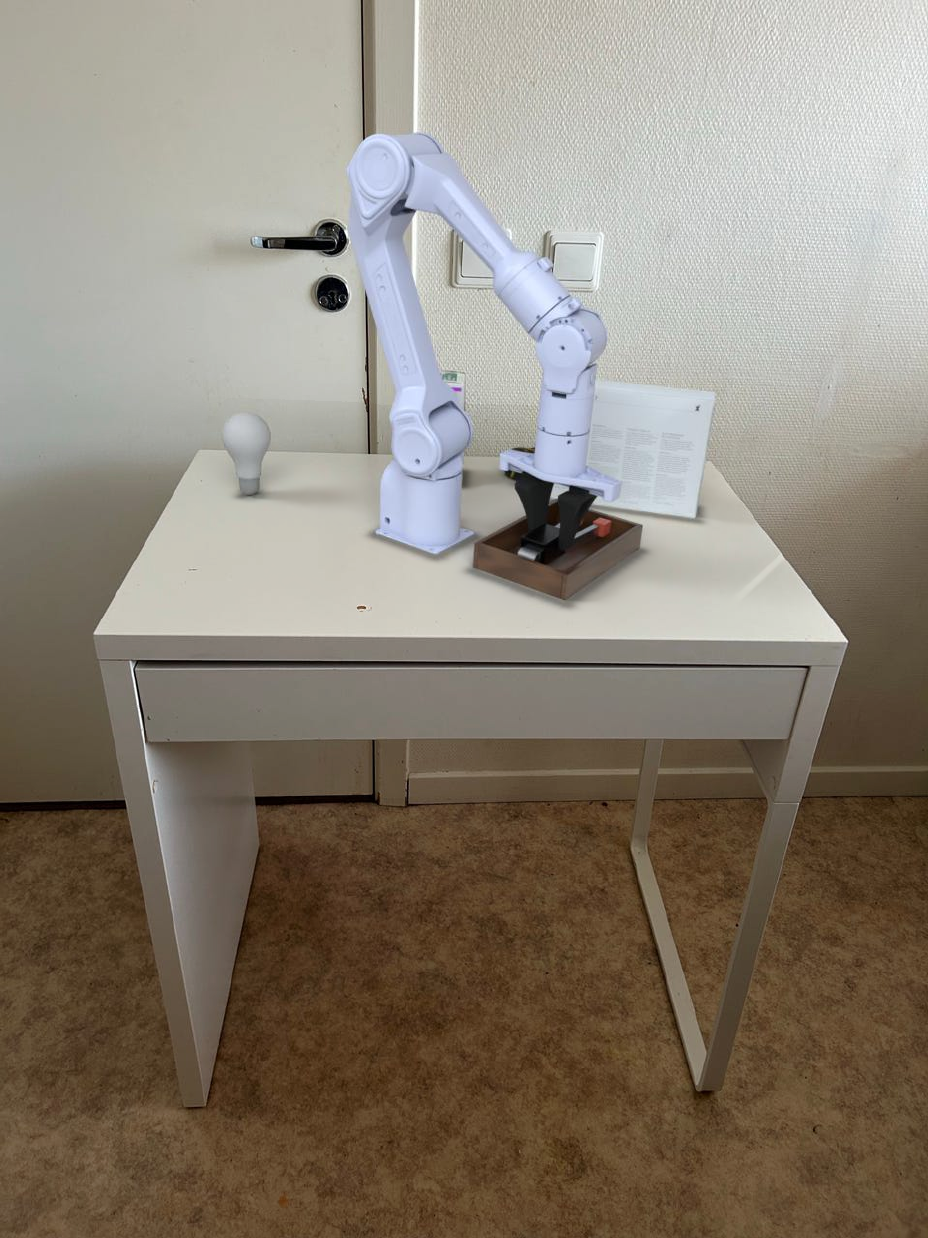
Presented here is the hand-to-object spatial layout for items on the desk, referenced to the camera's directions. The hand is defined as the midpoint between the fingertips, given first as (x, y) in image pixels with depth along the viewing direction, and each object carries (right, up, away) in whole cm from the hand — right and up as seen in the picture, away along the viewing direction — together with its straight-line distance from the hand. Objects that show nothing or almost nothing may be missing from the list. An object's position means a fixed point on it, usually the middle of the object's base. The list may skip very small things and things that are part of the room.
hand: (551, 542), depth 109 cm
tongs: (+1, 0, +2) cm, 2 cm away
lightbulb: (-38, +7, +16) cm, 42 cm away
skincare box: (+11, +7, +20) cm, 23 cm away
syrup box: (-13, +11, +25) cm, 30 cm away
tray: (+1, -2, +3) cm, 4 cm away
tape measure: (-1, +11, +27) cm, 29 cm away
